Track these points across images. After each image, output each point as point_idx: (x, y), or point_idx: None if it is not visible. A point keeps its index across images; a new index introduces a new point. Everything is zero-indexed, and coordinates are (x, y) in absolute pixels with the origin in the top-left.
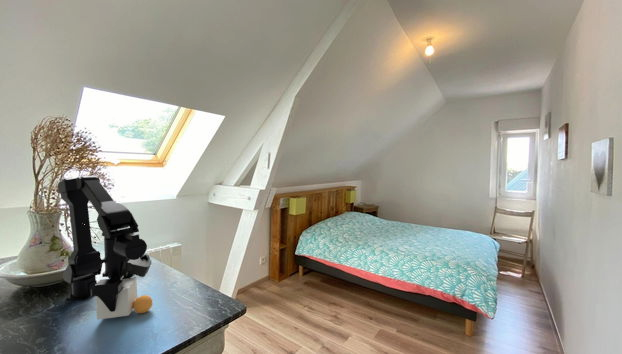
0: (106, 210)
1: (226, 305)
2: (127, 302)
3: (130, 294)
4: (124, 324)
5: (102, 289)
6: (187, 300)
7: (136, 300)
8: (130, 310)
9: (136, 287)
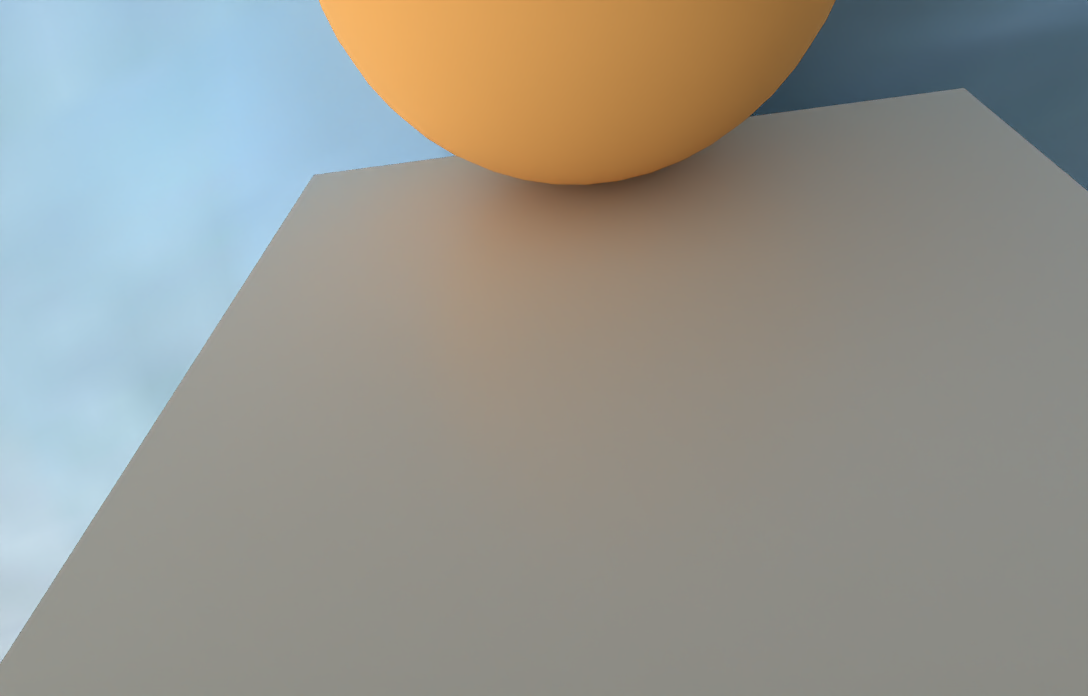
0: None
1: None
2: None
3: (960, 423)
4: (1000, 83)
5: None
6: None
7: (698, 117)
8: (850, 126)
9: (186, 442)
